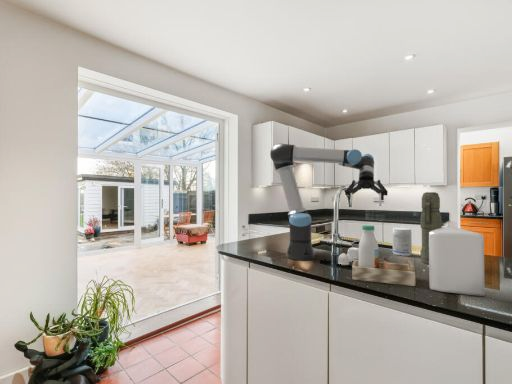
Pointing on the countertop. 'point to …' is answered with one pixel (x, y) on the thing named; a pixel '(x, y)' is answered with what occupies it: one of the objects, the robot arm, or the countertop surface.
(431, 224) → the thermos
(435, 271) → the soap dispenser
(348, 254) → the container set
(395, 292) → the countertop surface
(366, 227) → the milk bottle
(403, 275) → the wooden box
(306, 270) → the countertop surface
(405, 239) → the supplement tub
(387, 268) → the pusher
